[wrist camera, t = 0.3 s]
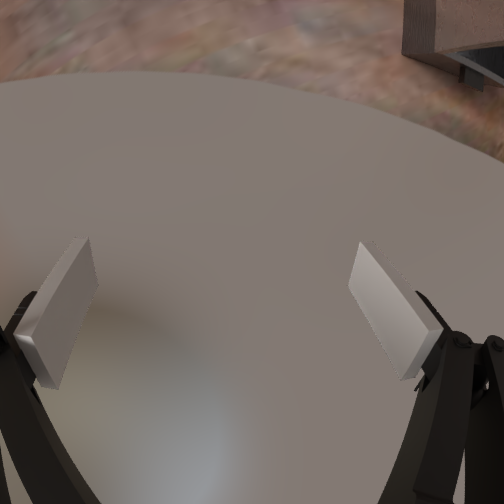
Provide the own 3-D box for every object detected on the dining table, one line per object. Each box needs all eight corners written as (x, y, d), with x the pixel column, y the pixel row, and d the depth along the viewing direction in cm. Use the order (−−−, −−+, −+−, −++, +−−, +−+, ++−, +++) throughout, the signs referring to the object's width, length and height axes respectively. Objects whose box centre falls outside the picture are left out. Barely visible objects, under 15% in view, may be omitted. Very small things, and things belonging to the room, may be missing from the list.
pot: (403, -41, 26) (438, -56, 18) (473, -5, 28) (509, -8, 20) (400, 69, 35) (438, 70, 28) (470, 95, 37) (508, 104, 30)
